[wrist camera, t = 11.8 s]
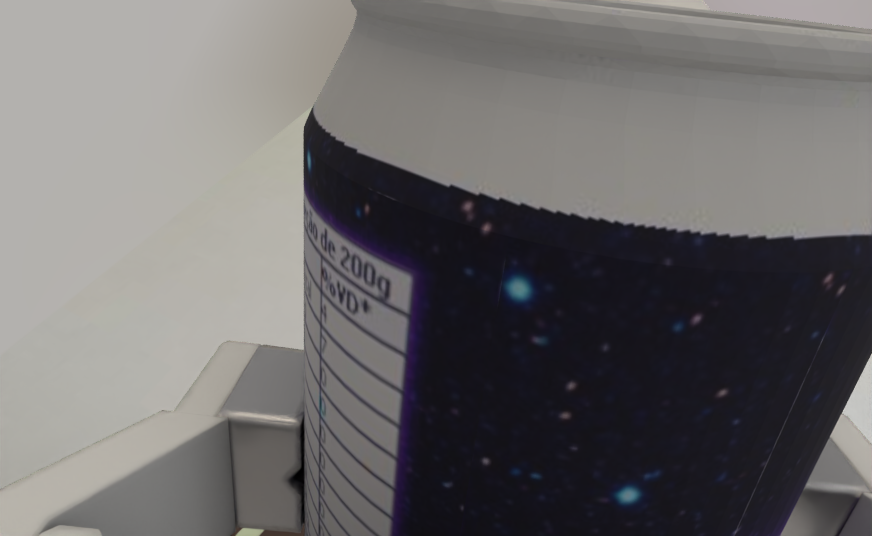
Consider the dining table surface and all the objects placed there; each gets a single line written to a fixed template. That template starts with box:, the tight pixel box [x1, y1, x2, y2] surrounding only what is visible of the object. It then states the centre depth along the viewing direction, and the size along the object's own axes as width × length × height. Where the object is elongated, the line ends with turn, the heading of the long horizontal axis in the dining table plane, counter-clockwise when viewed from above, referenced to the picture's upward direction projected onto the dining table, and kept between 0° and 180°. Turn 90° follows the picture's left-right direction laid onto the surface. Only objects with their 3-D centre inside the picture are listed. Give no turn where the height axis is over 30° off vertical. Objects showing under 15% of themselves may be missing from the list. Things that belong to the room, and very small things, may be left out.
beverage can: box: [304, 0, 872, 536], centre depth 8 cm, size 6×6×12 cm
